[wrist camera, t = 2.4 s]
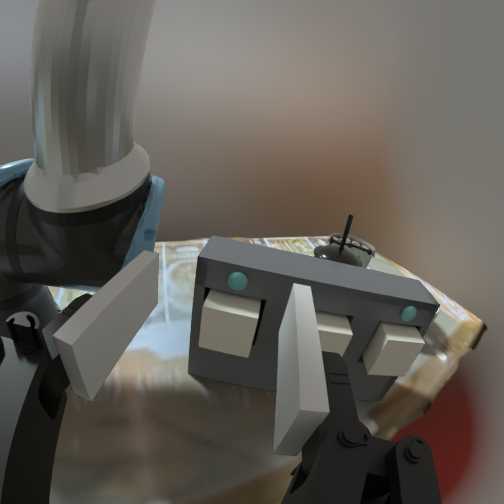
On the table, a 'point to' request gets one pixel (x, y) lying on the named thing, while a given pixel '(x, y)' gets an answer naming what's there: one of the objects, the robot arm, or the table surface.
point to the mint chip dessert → (354, 247)
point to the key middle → (333, 331)
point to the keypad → (324, 298)
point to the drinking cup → (339, 250)
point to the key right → (392, 349)
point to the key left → (229, 322)
